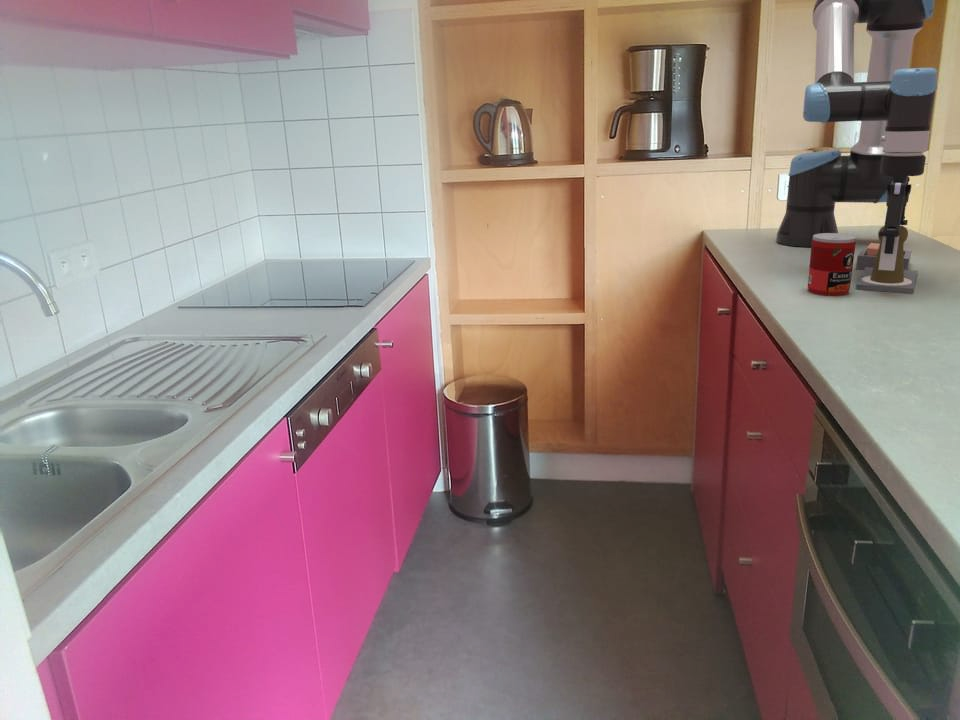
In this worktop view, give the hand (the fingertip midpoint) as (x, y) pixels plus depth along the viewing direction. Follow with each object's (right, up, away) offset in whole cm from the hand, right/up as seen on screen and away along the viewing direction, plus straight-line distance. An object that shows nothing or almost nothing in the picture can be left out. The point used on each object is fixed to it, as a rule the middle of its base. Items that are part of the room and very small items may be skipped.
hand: (889, 263), depth 153 cm
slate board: (+2, -3, +4) cm, 6 cm away
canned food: (-13, -6, -1) cm, 14 cm away
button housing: (+8, +2, +18) cm, 20 cm away
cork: (0, -3, +1) cm, 4 cm away
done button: (+8, +3, +18) cm, 20 cm away
